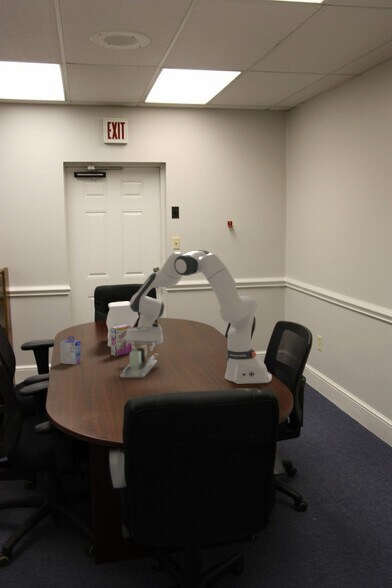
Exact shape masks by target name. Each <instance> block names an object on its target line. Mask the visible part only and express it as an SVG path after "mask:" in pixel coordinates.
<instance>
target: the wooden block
mask: <svg viewBox="0 0 392 588" xmlns="http://www.w3.org/2000/svg"><path fill="white" fill-rule="evenodd" d="M136 351H141V365H145V363H146V362H147V361H148V360H149V357H148V344H137V345H136Z"/></svg>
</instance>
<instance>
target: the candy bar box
mask: <svg viewBox="0 0 392 588" xmlns="http://www.w3.org/2000/svg"><path fill="white" fill-rule="evenodd" d="M130 327H131V326H129V325H121V326H116V327H111V347H110V354H111V356H114V357H119V356H124V355H127V354H130V352H131V351H132V345H131V343H126V341H125V336H126V331H127V329H128V328H130Z"/></svg>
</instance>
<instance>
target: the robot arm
mask: <svg viewBox="0 0 392 588" xmlns="http://www.w3.org/2000/svg"><path fill="white" fill-rule="evenodd" d="M199 273H200V274H201V273H202V274H203V276H204V277H205V279H206V281H207V282H208V284H209V286H210V287H211V289H212V290H213V292H214V294H215V295H216V298H217V300H218V304H219V314H220V317H221V319H222V320H223V321H224V322H225V323H228V324H230V326H229V328H228V332H227V349H226V361H227V362H226V363H227V364H226V371H225V374H224V379H225V380H227V381H229V382H234V383H235V384H238V385H240V384H242V385H243V384H267V383H270V382H271V381H272V380H273V377H272V374H271V373H270V372H268V369H267V366H266V364H265V363H264V362H263V361H261V360H260V359H259V358H258V357H256V356H257V352H256V350H255V349H252V345H251V344H252V328H253V324H254V318H255V315H256V311H257V307H258V305H257V301H256V300H255V299H254V298H253V297H251V296H248V295H241V296H240V295H239V293H238V292H239V291H238V290H237V283H236V282H237V281H236V280H235V279H234V277H233V276H232V274H231V273H230V271H229V269H228V268H227V266H226V265H225V263H224V262H223V260H222V259H220V257H219V256H218V255H217V254H215V253H213V252H212V253H210V252H209V251H207V250H204V249H201V250H200V249H199V250H195V251H189V252H186V253H183V252H180V251H175V252H172V253H171V254H170V255H169V257H168V258H167V259H166V261H165V262H164V263H163V265H162V267H161V269H159V270H158V271H157V272H151V274H150V275H149V276H148V277H147V278H146V280H145V281H144V282H143V284H141V286H140V288H139V289H138V290H137V291H136V292H135V293H134V294H133V295H132V297H131V299H130V301H129V302H130V308H131V309H132V311H134V312H138V314H139V320H138V322H137V323H138V324H137V327H135V326H133V328H132V327H130V328H128V329H127V331H126V336H125V341H126V343H131V351H136V346H135V344H137V345H139V344H147V345H148V344H150V346H149V348H148V349H149V351H153V349H154V348H155V346H156V345H161V344H162V343H163V342H164V335H163V328H162V326H161V324H159V323H156V322H155V321H156V320H158V319H160V318H161V317H162V316H163V314H164V310H165V305H164V304H165V303H164V302H163V301H162V300H160V299H157V298H153V297H150V296H147V295H148V293H149V292H150V291H151V290H152V289H153V288H173V287H175V286H176V285H177V284H178V283H179V282H180V281H181V279H182V277H183V276H186V277H187V276H191V275H195V274H196V275H197V274H199Z"/></svg>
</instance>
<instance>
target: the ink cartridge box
mask: <svg viewBox="0 0 392 588" xmlns="http://www.w3.org/2000/svg"><path fill="white" fill-rule="evenodd" d="M59 343H60V344H59V345H60V347H59V348H60V364H64V365H79V364H81V363H82V351H81V348H82V347H81V340H75V336H71V335H69V336H68V338H67V339H65V340H62V341H60V342H59Z"/></svg>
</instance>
